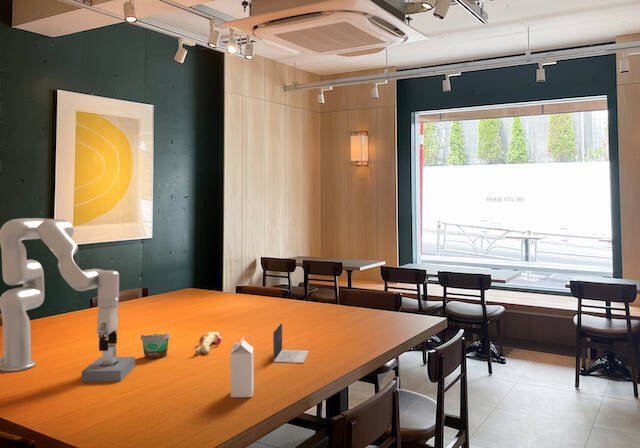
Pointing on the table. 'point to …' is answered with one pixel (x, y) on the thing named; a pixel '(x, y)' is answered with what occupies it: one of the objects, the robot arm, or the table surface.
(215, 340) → the beige piece
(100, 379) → the block
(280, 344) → the laptop
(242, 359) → the milk carton
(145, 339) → the food container
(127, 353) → the table surface
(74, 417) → the table surface
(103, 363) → the steel pin
